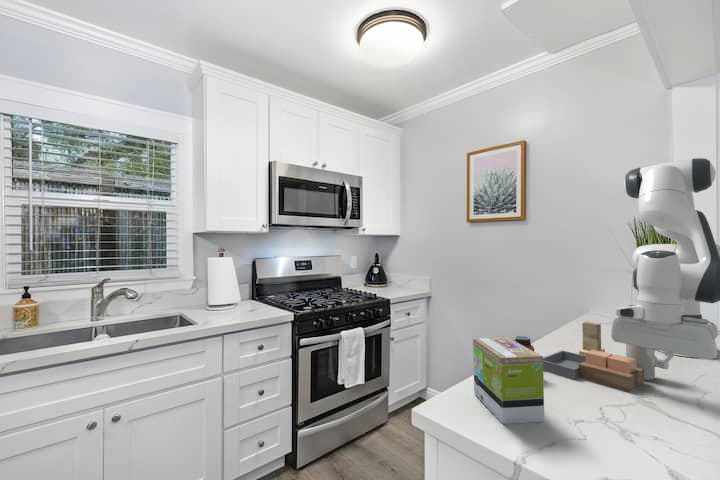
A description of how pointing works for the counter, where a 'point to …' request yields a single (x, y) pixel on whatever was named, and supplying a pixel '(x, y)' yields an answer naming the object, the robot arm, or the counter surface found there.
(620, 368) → the tile
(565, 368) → the tray
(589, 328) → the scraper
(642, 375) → the board
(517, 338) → the supplement bottle
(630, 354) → the beverage can
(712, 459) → the counter surface
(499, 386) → the tea box
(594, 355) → the peach square block
